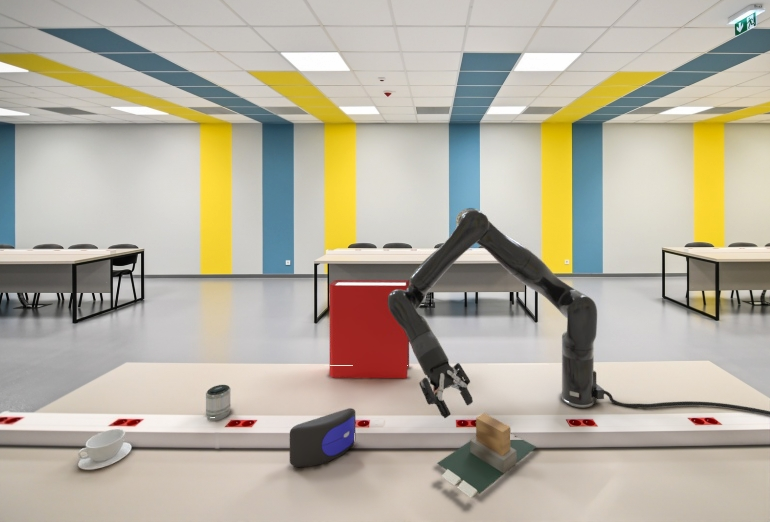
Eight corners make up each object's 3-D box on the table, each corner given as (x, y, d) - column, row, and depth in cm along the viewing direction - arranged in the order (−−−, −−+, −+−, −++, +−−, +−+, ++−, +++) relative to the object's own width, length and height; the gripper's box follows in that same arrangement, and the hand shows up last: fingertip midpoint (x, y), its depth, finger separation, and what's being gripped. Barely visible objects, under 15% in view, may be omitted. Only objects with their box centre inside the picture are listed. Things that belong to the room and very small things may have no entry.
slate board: (494, 428, 109) (494, 424, 109) (536, 451, 100) (536, 446, 100) (436, 468, 94) (436, 463, 94) (479, 499, 84) (479, 493, 84)
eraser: (470, 452, 98) (470, 417, 97) (483, 443, 101) (483, 409, 101) (503, 473, 90) (503, 436, 90) (516, 462, 94) (516, 426, 94)
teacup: (128, 439, 105) (128, 421, 105) (134, 457, 97) (134, 438, 97) (76, 457, 98) (76, 437, 98) (79, 478, 90) (79, 457, 90)
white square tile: (448, 471, 91) (447, 468, 91) (461, 480, 88) (460, 478, 88) (436, 484, 88) (435, 482, 88) (449, 494, 86) (448, 492, 85)
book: (409, 367, 146) (409, 280, 146) (407, 378, 138) (407, 285, 138) (334, 367, 146) (334, 279, 146) (328, 377, 138) (328, 285, 138)
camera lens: (202, 415, 115) (202, 388, 115) (225, 406, 120) (225, 380, 120) (210, 424, 111) (210, 396, 111) (234, 414, 116) (234, 387, 116)
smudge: (463, 482, 88) (463, 479, 88) (477, 492, 85) (477, 489, 85) (451, 496, 85) (451, 494, 85) (465, 507, 82) (465, 505, 82)
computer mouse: (293, 476, 91) (293, 435, 91) (288, 465, 95) (288, 425, 95) (360, 450, 100) (360, 413, 100) (353, 441, 104) (353, 404, 104)
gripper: (416, 353, 105) (447, 414, 97) (453, 339, 115) (484, 393, 106) (403, 366, 109) (432, 427, 100) (440, 351, 118) (469, 405, 110)
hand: (459, 409), depth 103 cm, fingers open, 8 cm apart
